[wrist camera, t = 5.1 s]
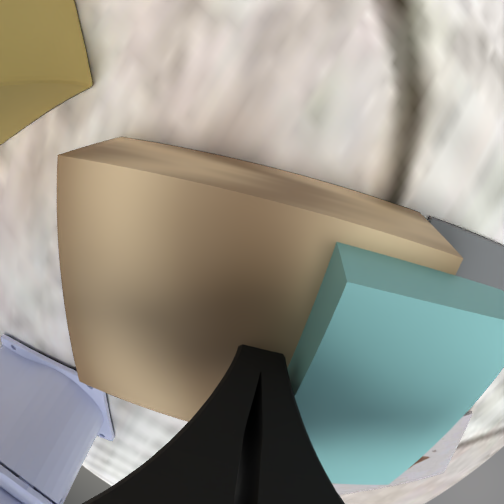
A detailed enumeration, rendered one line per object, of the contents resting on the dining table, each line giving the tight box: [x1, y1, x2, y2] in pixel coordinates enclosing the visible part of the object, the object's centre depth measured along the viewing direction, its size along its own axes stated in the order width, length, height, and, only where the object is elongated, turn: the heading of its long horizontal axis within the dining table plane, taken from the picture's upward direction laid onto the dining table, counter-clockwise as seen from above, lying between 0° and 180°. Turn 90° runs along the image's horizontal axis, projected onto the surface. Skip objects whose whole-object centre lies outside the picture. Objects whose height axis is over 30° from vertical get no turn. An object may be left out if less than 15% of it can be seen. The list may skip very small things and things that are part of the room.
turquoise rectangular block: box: [287, 242, 504, 485], centre depth 9 cm, size 6×9×2 cm, turn 168°
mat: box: [428, 216, 504, 292], centre depth 13 cm, size 8×10×1 cm
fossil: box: [332, 411, 472, 495], centre depth 20 cm, size 16×1×10 cm
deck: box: [57, 137, 463, 422], centre depth 12 cm, size 12×10×4 cm
